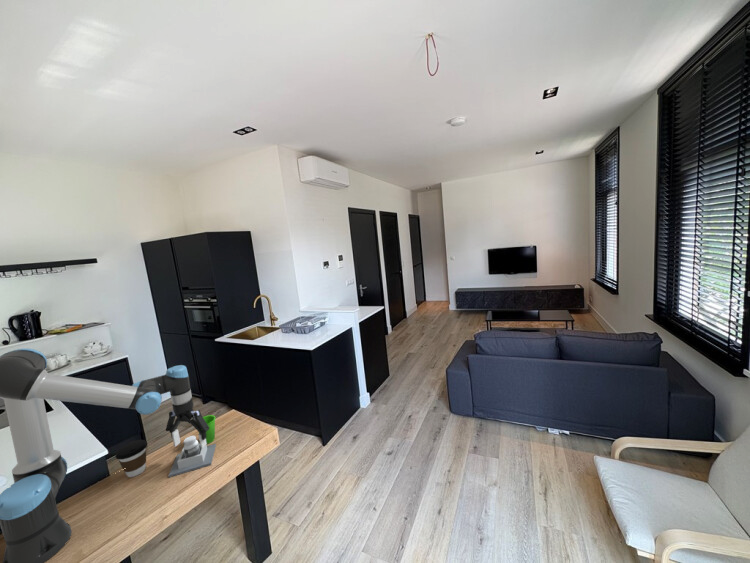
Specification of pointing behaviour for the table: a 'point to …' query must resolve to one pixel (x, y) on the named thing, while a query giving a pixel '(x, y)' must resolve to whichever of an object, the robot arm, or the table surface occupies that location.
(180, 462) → the socket
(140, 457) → the coffee cup
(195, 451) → the pill bottle
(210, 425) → the cup
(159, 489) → the table surface
